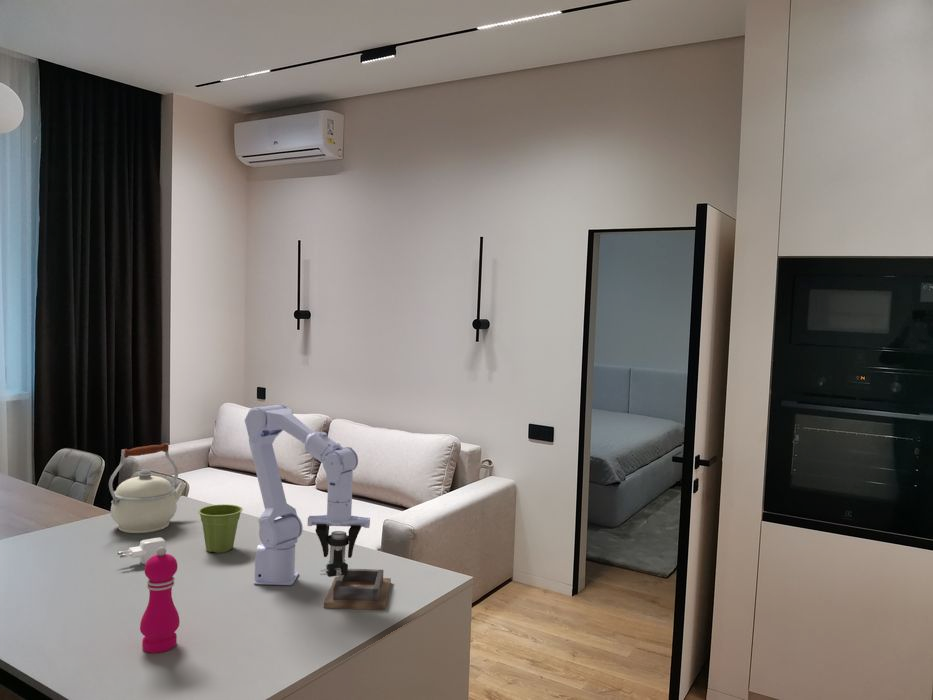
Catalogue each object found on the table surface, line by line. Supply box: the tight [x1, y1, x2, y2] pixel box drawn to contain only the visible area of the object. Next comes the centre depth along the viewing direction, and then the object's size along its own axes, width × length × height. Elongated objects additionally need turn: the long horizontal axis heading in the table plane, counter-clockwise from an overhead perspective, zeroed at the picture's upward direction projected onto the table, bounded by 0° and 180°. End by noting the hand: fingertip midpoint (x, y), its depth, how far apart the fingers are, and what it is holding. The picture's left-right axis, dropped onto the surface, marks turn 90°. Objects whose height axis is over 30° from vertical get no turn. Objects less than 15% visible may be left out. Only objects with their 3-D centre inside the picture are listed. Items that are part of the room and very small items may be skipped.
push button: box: [319, 530, 349, 578], centre depth 164 cm, size 7×5×10 cm
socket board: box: [323, 568, 392, 610], centre depth 166 cm, size 14×16×4 cm
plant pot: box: [197, 503, 243, 554], centre depth 194 cm, size 12×12×11 cm
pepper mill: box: [139, 547, 180, 654], centre depth 137 cm, size 7×7×20 cm
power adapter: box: [117, 537, 167, 566], centre depth 180 cm, size 11×5×6 cm, turn 129°
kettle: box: [108, 442, 187, 534], centre depth 212 cm, size 25×18×25 cm
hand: (338, 556), depth 164 cm, fingers closed on push button, 5 cm apart
